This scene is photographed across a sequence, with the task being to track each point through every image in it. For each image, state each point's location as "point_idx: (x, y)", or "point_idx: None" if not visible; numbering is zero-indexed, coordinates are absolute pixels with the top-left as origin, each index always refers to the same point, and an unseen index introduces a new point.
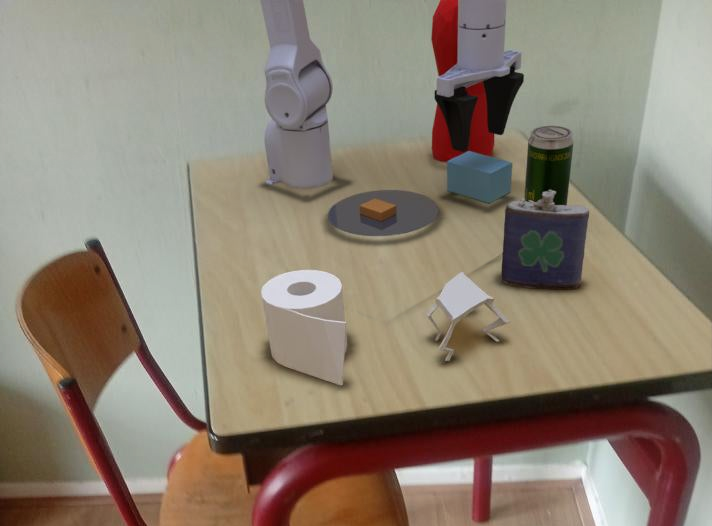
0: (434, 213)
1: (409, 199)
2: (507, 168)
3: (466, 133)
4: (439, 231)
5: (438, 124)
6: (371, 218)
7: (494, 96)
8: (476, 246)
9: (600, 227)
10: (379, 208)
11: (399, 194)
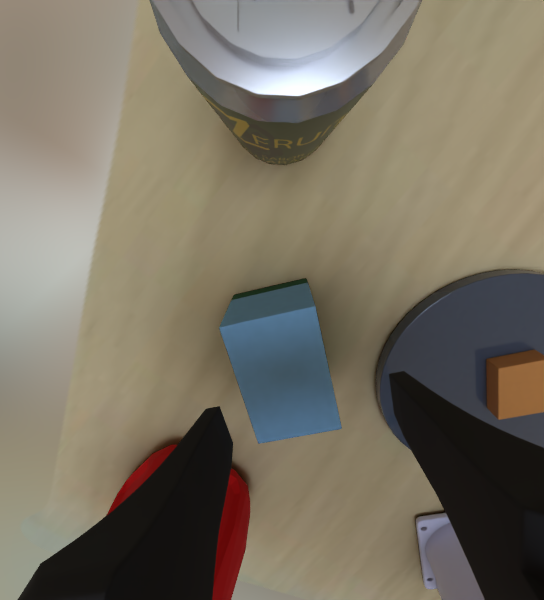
0: (431, 314)
1: None
2: (241, 318)
3: (441, 400)
4: (453, 262)
5: (237, 568)
6: None
7: (199, 550)
8: (458, 143)
9: (154, 16)
10: (535, 376)
11: None
